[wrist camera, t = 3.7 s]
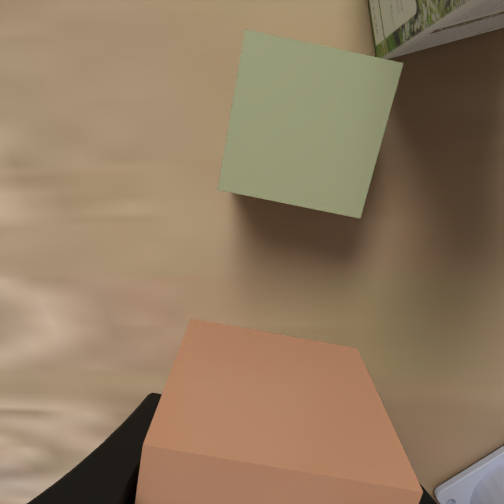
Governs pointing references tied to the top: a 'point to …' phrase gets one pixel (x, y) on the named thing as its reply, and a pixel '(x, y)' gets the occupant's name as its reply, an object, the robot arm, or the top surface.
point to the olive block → (306, 123)
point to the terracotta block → (271, 426)
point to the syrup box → (430, 23)
